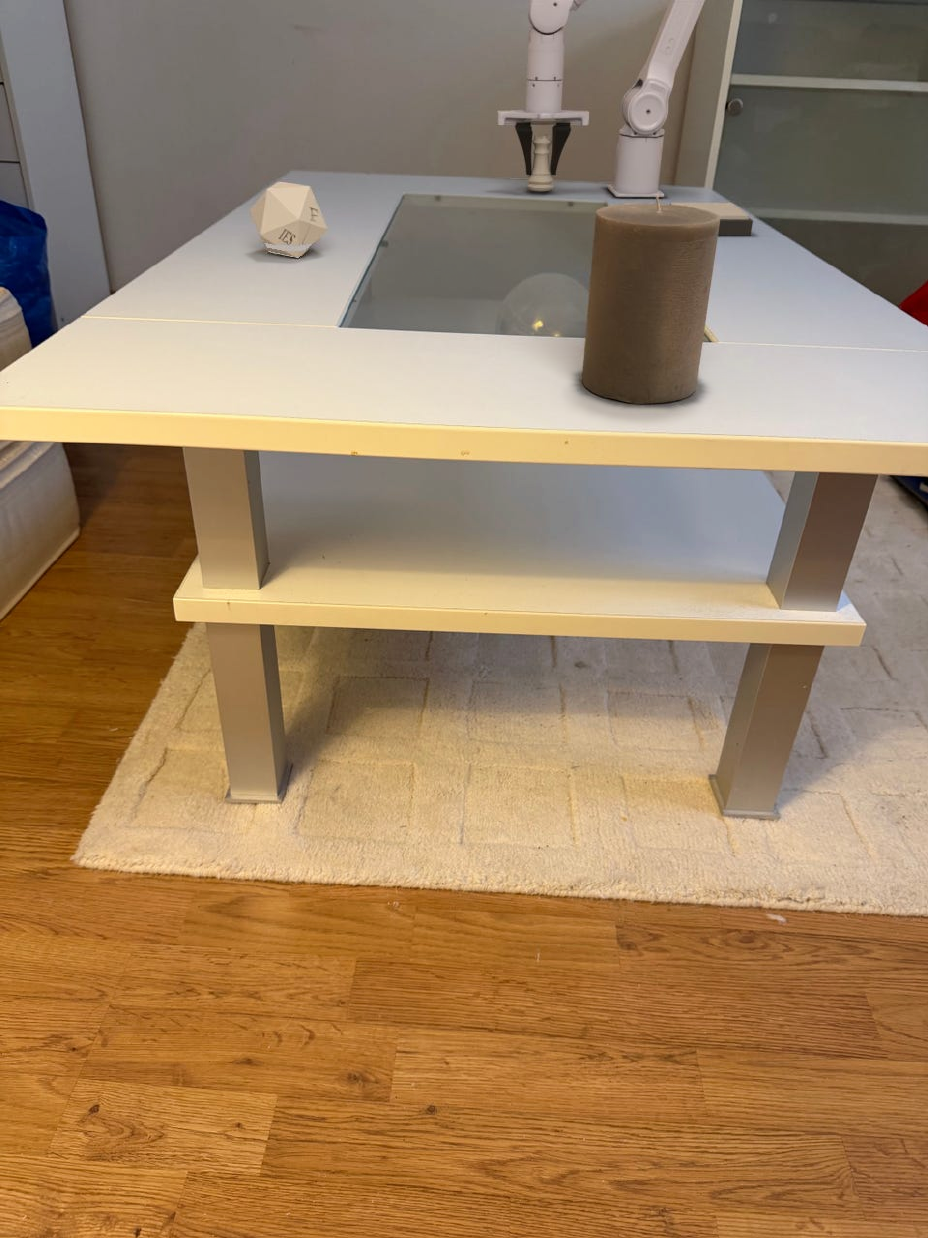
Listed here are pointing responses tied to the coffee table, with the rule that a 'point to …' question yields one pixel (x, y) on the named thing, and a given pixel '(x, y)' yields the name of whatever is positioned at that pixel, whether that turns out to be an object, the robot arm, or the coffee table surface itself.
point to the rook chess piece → (541, 165)
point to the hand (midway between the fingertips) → (540, 174)
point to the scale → (727, 218)
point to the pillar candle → (648, 300)
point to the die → (288, 217)
